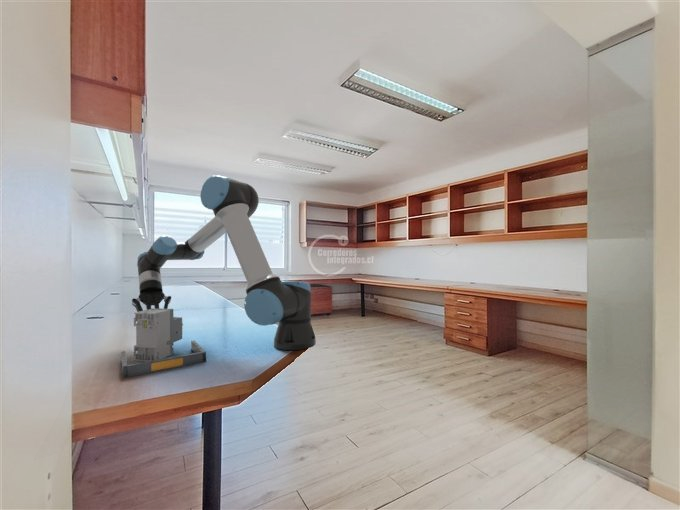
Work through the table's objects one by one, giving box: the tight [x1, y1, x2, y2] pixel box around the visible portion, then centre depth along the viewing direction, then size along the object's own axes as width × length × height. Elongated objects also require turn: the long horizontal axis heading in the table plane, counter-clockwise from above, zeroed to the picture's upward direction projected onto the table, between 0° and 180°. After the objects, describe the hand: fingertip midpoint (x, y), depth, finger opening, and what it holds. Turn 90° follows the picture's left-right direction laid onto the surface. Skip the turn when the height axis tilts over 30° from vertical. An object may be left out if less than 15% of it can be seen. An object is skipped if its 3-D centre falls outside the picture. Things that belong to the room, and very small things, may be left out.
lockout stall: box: [120, 340, 207, 379], centre depth 96 cm, size 17×21×3 cm
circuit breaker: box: [133, 307, 184, 362], centre depth 103 cm, size 8×14×15 cm, turn 171°
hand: (155, 336), depth 107 cm, fingers closed
